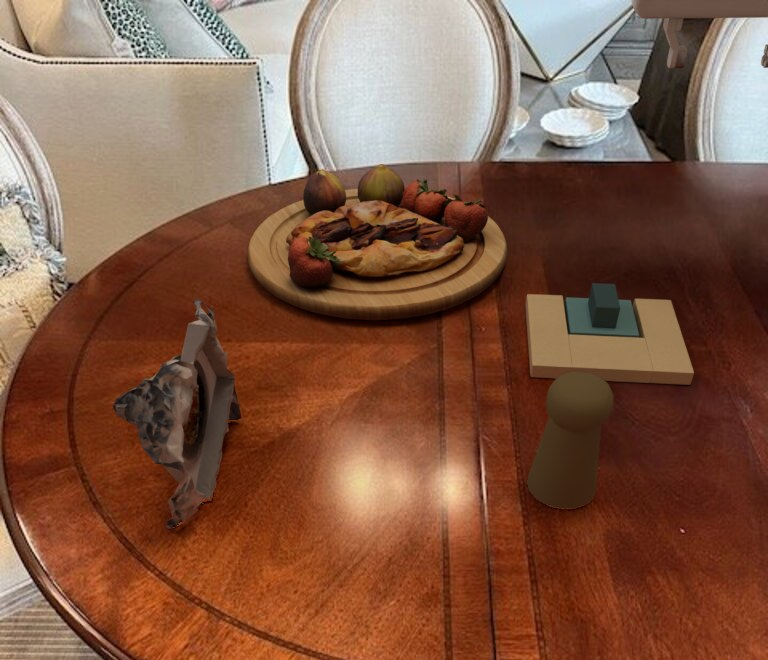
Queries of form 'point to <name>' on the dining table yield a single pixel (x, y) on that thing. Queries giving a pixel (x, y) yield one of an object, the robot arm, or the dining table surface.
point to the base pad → (608, 345)
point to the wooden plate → (377, 249)
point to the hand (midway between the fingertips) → (722, 66)
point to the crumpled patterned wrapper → (186, 415)
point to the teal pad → (584, 324)
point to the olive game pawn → (571, 441)
